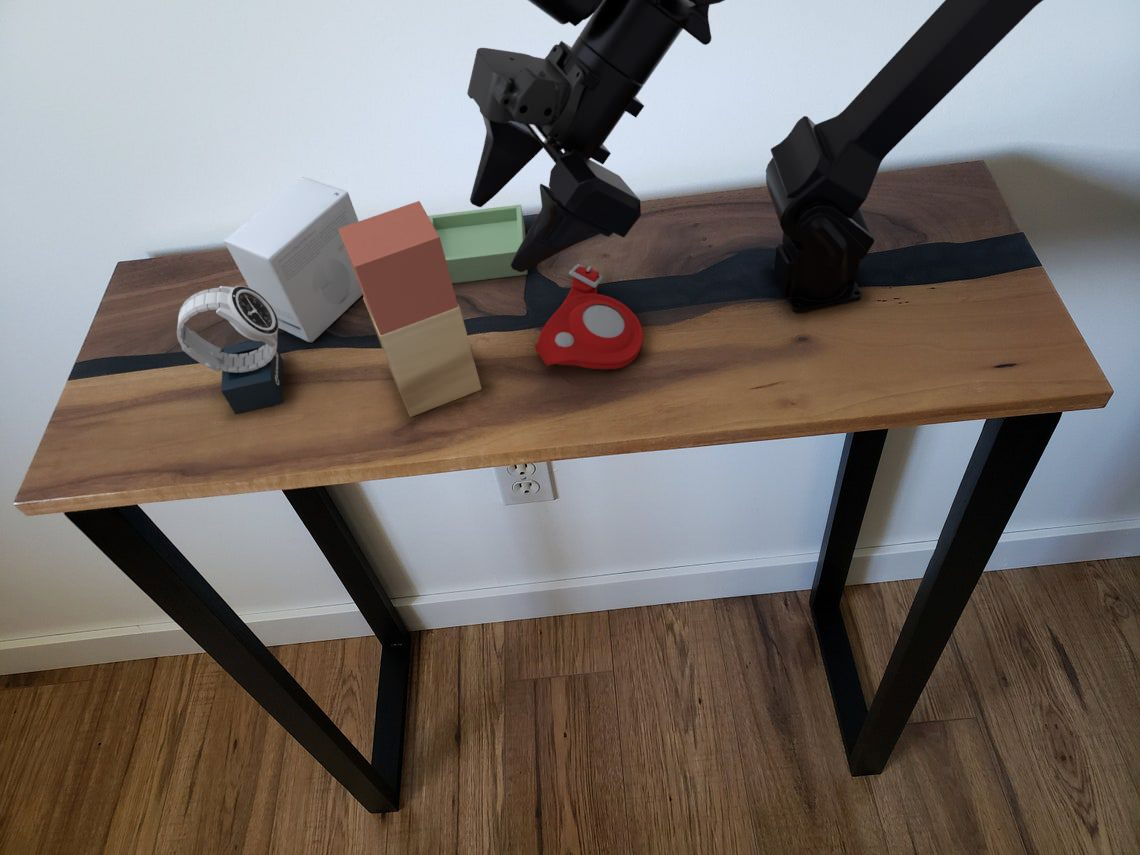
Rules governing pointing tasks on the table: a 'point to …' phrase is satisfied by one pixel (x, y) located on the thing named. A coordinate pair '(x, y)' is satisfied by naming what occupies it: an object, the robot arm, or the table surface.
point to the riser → (430, 361)
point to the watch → (238, 346)
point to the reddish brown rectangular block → (399, 266)
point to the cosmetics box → (300, 257)
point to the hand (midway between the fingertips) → (494, 235)
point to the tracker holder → (590, 328)
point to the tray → (481, 242)
